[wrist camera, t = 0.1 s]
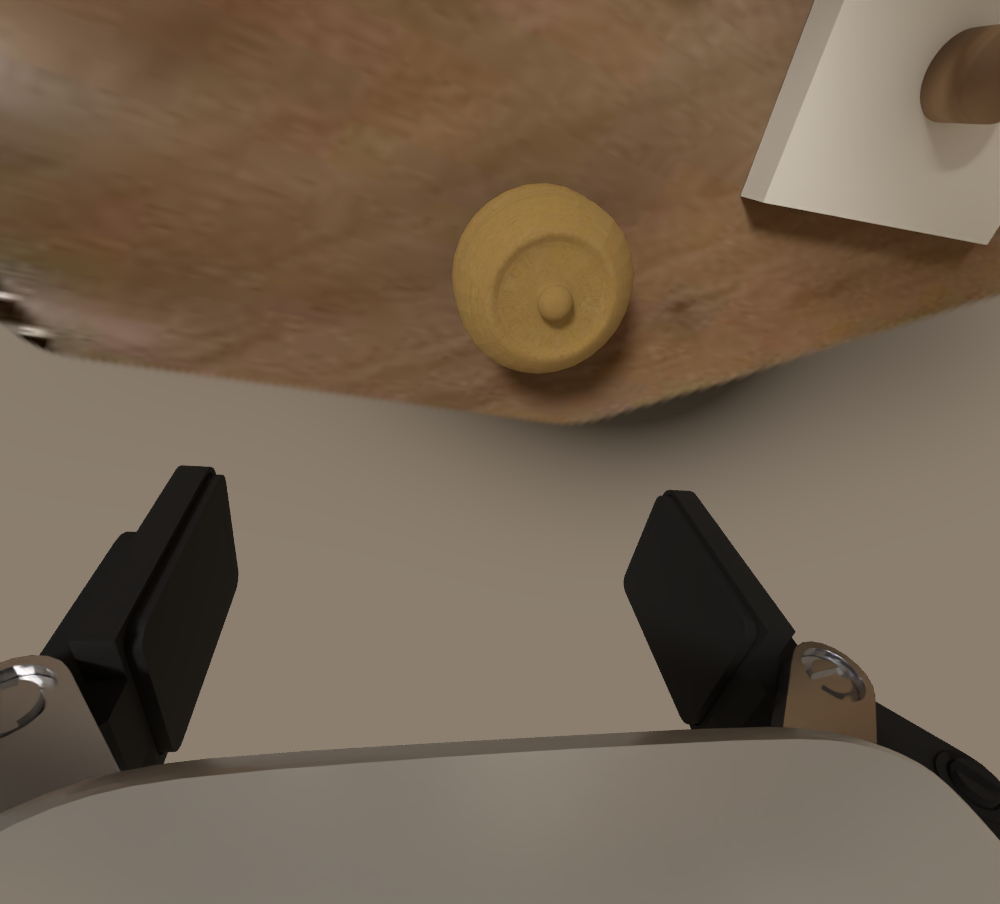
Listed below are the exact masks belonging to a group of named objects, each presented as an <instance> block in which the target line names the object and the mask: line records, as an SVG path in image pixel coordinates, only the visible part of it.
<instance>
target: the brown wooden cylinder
mask: <svg viewBox="0 0 1000 904" xmlns="http://www.w3.org/2000/svg"><path fill="white" fill-rule="evenodd" d="M920 104H921V109H922V111H923V113H924V115H925V116H926V117H927V118H928V119H930V120H931V121H934V122H939V123H961V124H984V125H988V124H996V123H999V122H1000V24H996V25H988V26H981V27H974V28H969V29H966V30H964V31H962V32H960V33H958V34H957V35H955V36H954V37H952V38H951V39H950V40H949V41H948V42H947V43H945V44H944V45H943V47H942V48H941V49H940V50H939V51H938V53H937V54H936V55H935V57H934V58H933V60H932V61H931V63H930V65H929V67H928V68H927V71H926V73H925V75H924V78H923V81H922V85H921V90H920Z"/></svg>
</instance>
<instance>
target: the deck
mask: <svg viewBox="0 0 1000 904" xmlns="http://www.w3.org/2000/svg"><path fill="white" fill-rule="evenodd" d="M996 24H1000V0H815V1H814V3H813V6H812V9H811V11H810V14H809V17H808V19H807V22H806V24H805V27H804V30H803V32H802V35H801V38H800V40H799V43H798V46H797V48H796V51H795V54H794V56H793V59H792V62H791V64H790V67H789V69H788V72H787V75H786V77H785V80H784V83H783V85H782V88H781V91H780V93H779V96H778V99H777V101H776V104H775V106H774V109H773V112H772V114H771V117H770V120H769V122H768V125H767V128H766V130H765V133H764V136H763V138H762V141H761V144H760V146H759V149H758V151H757V154H756V157H755V159H754V162H753V165H752V167H751V170H750V173H749V175H748V178H747V181H746V183H745V186H744V188H743V191H742V194H741V196H742V197H746V198H749V199H753V200H756V201H760V202H763V203H768V204H774V205H779V206H784V207H789V208H795V209H800V210H805V211H810V212H816V213H821V214H826V215H831V216H837V217H842V218H847V219H853V220H858V221H863V222H868V223H874V224H879V225H884V226H889V227H895V228H900V229H905V230H910V231H916V232H921V233H926V234H931V235H937V236H942V237H947V238H953V239H958V240H963V241H968V242H974V243H979V244H984V245H988V243H989V241H990V240H991V238H992V237H993V235H994V234H995V232H996V230H997V229H998V227H999V226H1000V122H999V123H996V124H988V125H984V124H961V123H939V122H934V121H931V120H930V119H928V118H927V117H926V116H925V115H924V113H923V111H922V109H921V104H920V90H921V85H922V81H923V78H924V75H925V73H926V71H927V68H928V67H929V65H930V63H931V61H932V60H933V58H934V57H935V55H936V54H937V53H938V51H939V50H940V49H941V48H942V47H943V45H944V44H945V43H947V42H948V41H949V40H950V39H951V38H952V37H954V36H955V35H957V34H958V33H960V32H962V31H964V30H966V29H969V28H974V27H981V26H988V25H996Z"/></svg>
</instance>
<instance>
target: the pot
mask: <svg viewBox="0 0 1000 904" xmlns="http://www.w3.org/2000/svg"><path fill="white" fill-rule="evenodd" d="M633 275H634V273H633V265H632V256H631V252H630V249H629V246H628V244H627V241H626V238H625V236H624V234H623V232H622V231H621V230H620V228H619V227H618V225H617V224H616V222H615V221H614V219H613V218H612V217H611V216H610V215H608V214H607V213H606V212H605V211H604V210H602V209H601V208H600V207H599V206H598V205H597V204H595V203H594V202H592V201H590V200H588V199H587V198H586V197H585V196H583V195H581V194H579V193H577V192H575V191H573V190H571V189H569V188H567V187H564V186H559V185H554V184H549V183H538V184H525V185H522V186H519V187H516V188H513V189H511V190H508V191H505V192H503V193H502V194H500V195H499V196H497V197H495V198H494V199H492V200H490V201H489V202H487V203H486V204H485V205H484V206H483V207H482V208H481V209H480V210H479V211H478V212H477V213H476V214H475V215H474V216H473V217H472V219H471V220H470V222H469V224H468V225H467V227H466V228H465V230H464V232H463V233H462V235H461V237H460V240H459V243H458V246H457V249H456V252H455V254H454V262H453V270H452V282H453V293H454V297H455V300H456V303H457V307H458V310H459V313H460V316H461V319H462V322H463V325H464V326H465V329H466V330H467V332H468V334H469V335H470V337H471V338H472V340H473V342H474V343H475V344H476V345H477V346H478V347H479V349H480V350H481V351H482V352H483V353H484V354H485V355H486V356H487V357H489V358H490V359H492V360H494V361H495V362H497V363H498V364H500V365H502V366H504V367H507V368H510V369H513V370H516V371H519V372H526V373H536V374H539V373H548V372H556V371H560V370H563V369H566V368H569V367H572V366H575V365H576V364H578V363H580V362H582V361H583V360H585V359H587V358H589V357H590V356H591V355H593V354H594V353H595V352H596V351H597V350H599V349H600V348H601V347H602V346H603V345H604V344H605V343H606V342H607V341H608V340H609V338H610V337H611V336H612V335H613V334H614V332H615V331H616V330H617V328H618V326H619V324H620V323H621V321H622V319H623V317H624V315H625V314H626V311H627V308H628V304H629V301H630V298H631V295H632V286H633Z"/></svg>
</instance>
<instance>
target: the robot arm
mask: <svg viewBox="0 0 1000 904" xmlns="http://www.w3.org/2000/svg"><path fill="white" fill-rule="evenodd" d="M237 583H238V566H237V559H236V552H235V545H234V538H233V530H232V523H231V515H230V508H229V501H228V493H227V486H226V480H225V477H224V475H216V473H215V470H214V468H212V467H202V466H179V467H178V468H177V469H176V470H175V472H174V474H173V476H172V477H171V478H170V480H169V482H168V483H167V485H166V486H165V488H164V489H163V491H162V493H161V494H160V496H159V497H158V499H157V501H156V502H155V504H154V505H153V507H152V509H151V510H150V512H149V513H148V515H147V516H146V518H145V519H144V521H143V523H142V524H141V526H140V527H139V529H138V531H137V532H125V533H123V534H121V535H120V536H119V538H118V539H117V540H116V541H115V543H114V544H113V546H112V547H111V548H110V550H109V552H108V553H107V554H106V556H105V558H104V559H103V561H102V562H101V564H100V565H99V566H98V568H97V570H96V571H95V572H94V574H93V575H92V577H91V578H90V580H89V581H88V583H87V585H86V586H85V587H84V589H83V591H82V592H81V593H80V595H79V596H78V598H77V600H76V601H75V602H74V604H73V606H72V607H71V609H70V610H69V612H68V613H67V614H66V616H65V618H64V619H63V621H62V622H61V624H60V625H59V627H58V628H57V630H56V631H55V633H54V634H53V636H52V637H51V639H50V640H49V642H48V643H47V645H46V646H45V648H44V649H43V651H42V652H41V654H40V655H39V656H38V655H29V656H23V657H17V658H12V659H9V660H6V661H3V662H0V904H1000V781H999V780H998V779H997V778H996V777H995V776H994V775H993V774H992V773H991V772H989V771H988V770H987V769H986V768H985V767H984V766H983V765H982V764H980V763H979V762H977V761H976V760H974V759H973V758H971V757H970V756H968V755H967V754H965V753H963V752H962V751H960V750H958V749H956V748H954V747H953V746H951V745H950V744H948V743H946V742H944V741H943V740H941V739H939V738H937V737H935V736H934V735H932V734H931V733H929V732H927V731H925V730H924V729H922V728H920V727H918V726H917V725H915V724H913V723H911V722H910V721H908V720H906V719H905V718H903V717H901V716H900V715H898V714H896V713H894V712H893V711H891V710H889V709H887V708H886V707H884V706H882V705H881V704H879V703H877V702H875V692H874V688H873V685H872V684H871V682H870V680H869V678H868V676H867V675H866V674H865V672H864V671H863V670H862V669H861V668H860V667H859V666H858V665H857V664H856V663H855V662H854V661H853V660H851V659H850V658H849V657H848V656H847V655H845V654H843V653H842V652H840V651H838V650H837V649H835V648H832V647H830V646H828V645H825V644H823V643H818V642H812V641H811V642H802V643H801V644H799V645H797V644H796V643H795V641H794V640H793V639H792V636H793V635H794V633H795V630H794V629H793V628H792V626H791V625H790V623H789V622H788V621H787V619H786V618H785V617H784V615H783V614H782V612H781V611H780V610H779V608H778V607H777V606H776V604H775V603H774V601H773V600H772V599H771V597H770V596H769V595H768V593H767V592H766V590H765V589H764V588H763V586H762V585H761V584H760V582H759V581H758V579H757V578H756V577H755V576H754V574H753V573H752V571H751V570H750V569H749V567H748V566H747V564H746V563H745V562H744V560H743V559H742V557H741V556H740V555H739V553H738V552H737V551H736V549H735V548H734V547H733V545H732V544H731V542H730V541H729V540H728V538H727V537H726V536H725V534H724V533H723V531H722V530H721V529H720V527H719V526H718V525H717V523H716V522H715V520H714V519H713V518H712V516H711V515H710V514H709V512H708V511H707V509H706V508H705V507H704V505H703V504H702V503H701V501H700V500H699V499H698V497H697V496H696V495H695V494H694V493H693V492H691V491H679V490H668V491H666V492H665V493H664V494H663V496H659V497H658V498H657V499H656V501H655V503H654V506H653V508H652V511H651V513H650V515H649V518H648V520H647V523H646V525H645V528H644V530H643V532H642V535H641V537H640V540H639V542H638V545H637V547H636V549H635V552H634V554H633V557H632V559H631V562H630V564H629V567H628V569H627V572H626V574H625V577H624V589H625V592H626V595H627V597H628V599H629V602H630V604H631V606H632V608H633V611H634V613H635V615H636V617H637V620H638V622H639V624H640V626H641V629H642V631H643V633H644V636H645V638H646V640H647V642H648V645H649V647H650V649H651V651H652V654H653V656H654V658H655V660H656V663H657V665H658V667H659V670H660V672H661V674H662V676H663V678H664V681H665V683H666V685H667V687H668V690H669V692H670V694H671V697H672V699H673V701H674V704H675V706H676V708H677V710H678V713H679V715H680V717H681V719H682V720H683V721H684V723H686V724H689V725H690V727H691V729H690V730H670V731H652V732H651V731H649V732H630V733H609V734H590V735H571V736H553V737H536V738H517V739H499V740H483V741H464V742H446V743H430V744H413V745H397V746H381V747H364V748H348V749H332V750H315V751H300V752H287V753H274V754H261V755H249V756H235V757H222V758H209V759H200V760H192V761H184V762H175V763H167V764H164V761H165V758H166V755H167V753H168V752H176V751H177V750H178V749H179V747H180V746H181V743H182V741H183V738H184V735H185V733H186V730H187V727H188V724H189V721H190V718H191V716H192V713H193V710H194V707H195V704H196V701H197V698H198V696H199V693H200V690H201V687H202V685H203V682H204V679H205V676H206V673H207V670H208V668H209V665H210V662H211V659H212V656H213V653H214V651H215V648H216V645H217V642H218V639H219V636H220V634H221V631H222V628H223V625H224V622H225V619H226V617H227V614H228V611H229V608H230V605H231V602H232V599H233V597H234V594H235V591H236V588H237Z"/></svg>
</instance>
